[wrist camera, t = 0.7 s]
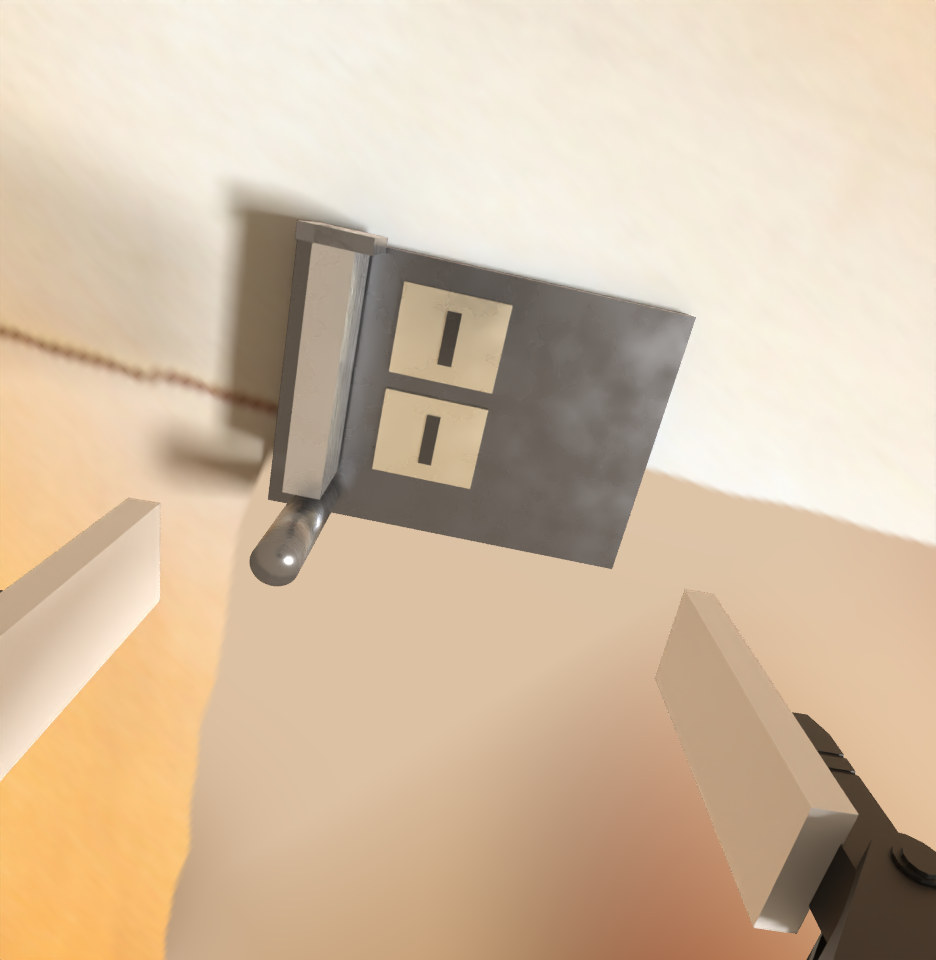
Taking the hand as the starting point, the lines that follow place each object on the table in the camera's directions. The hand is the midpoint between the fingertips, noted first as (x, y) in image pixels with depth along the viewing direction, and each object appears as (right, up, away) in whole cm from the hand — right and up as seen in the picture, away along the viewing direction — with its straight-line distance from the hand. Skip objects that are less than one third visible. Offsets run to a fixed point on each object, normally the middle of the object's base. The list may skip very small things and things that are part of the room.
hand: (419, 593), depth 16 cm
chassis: (+1, +7, +22) cm, 24 cm away
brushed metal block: (-6, +10, +20) cm, 23 cm away
